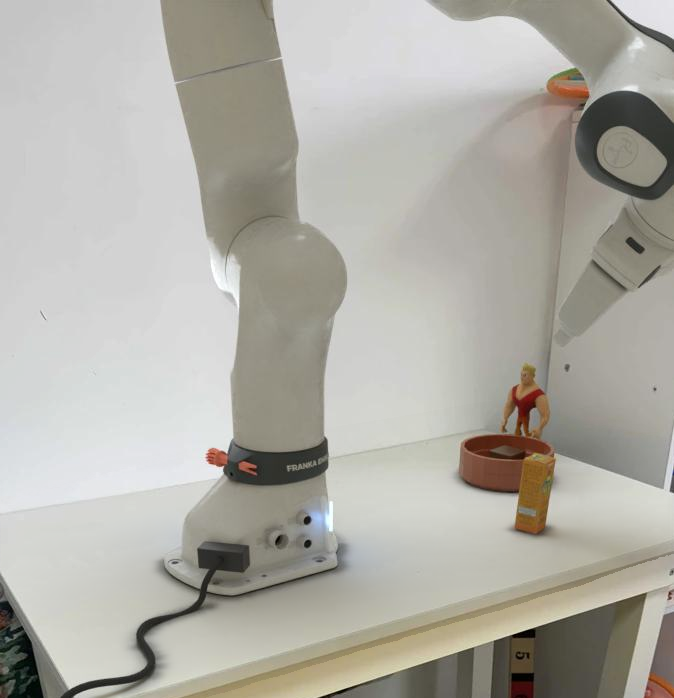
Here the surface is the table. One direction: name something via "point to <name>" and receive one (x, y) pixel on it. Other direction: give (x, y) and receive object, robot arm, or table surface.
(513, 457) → the block
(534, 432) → the action figure
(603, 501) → the table surface
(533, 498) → the supplement box
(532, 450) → the bowl
